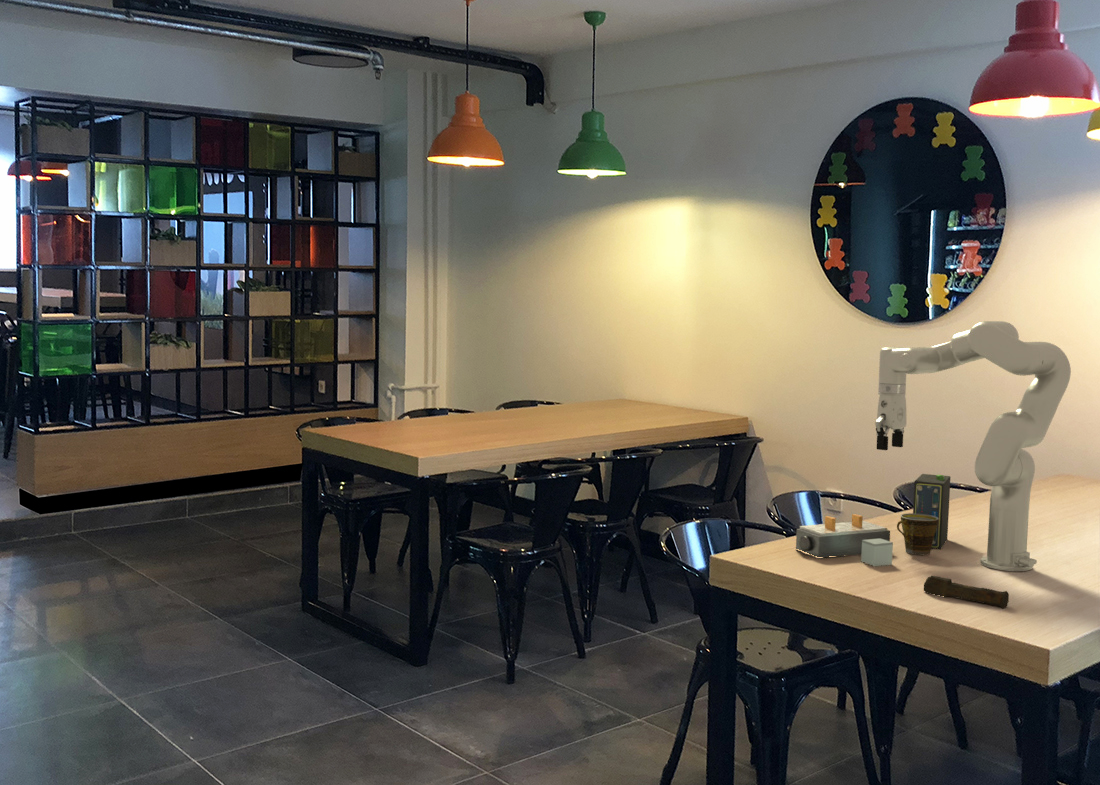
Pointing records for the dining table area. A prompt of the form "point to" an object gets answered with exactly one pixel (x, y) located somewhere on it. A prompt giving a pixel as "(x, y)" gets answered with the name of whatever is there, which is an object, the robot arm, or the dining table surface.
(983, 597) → the dark brown flashlight
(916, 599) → the dining table surface
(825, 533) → the grey toaster
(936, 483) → the dark grey box
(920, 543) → the ceramic cup
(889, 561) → the pale grey cube
